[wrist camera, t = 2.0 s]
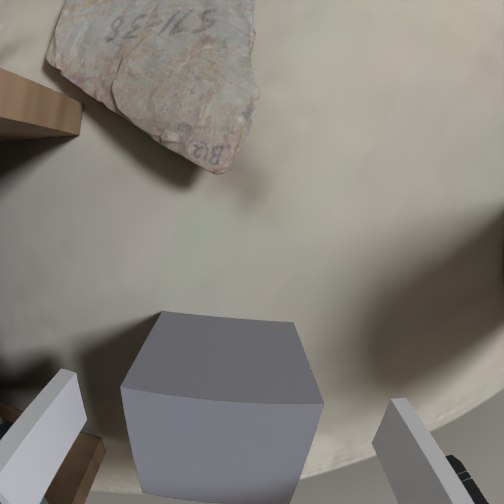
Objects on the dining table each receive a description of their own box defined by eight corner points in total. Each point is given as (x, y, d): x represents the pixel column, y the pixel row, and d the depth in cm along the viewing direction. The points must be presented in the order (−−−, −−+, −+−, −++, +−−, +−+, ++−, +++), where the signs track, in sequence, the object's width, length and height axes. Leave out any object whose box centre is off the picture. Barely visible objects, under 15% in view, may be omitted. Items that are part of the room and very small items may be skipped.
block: (165, 408, 15) (142, 492, 9) (162, 310, 14) (120, 386, 8) (275, 417, 15) (289, 504, 10) (293, 321, 14) (323, 404, 8)
